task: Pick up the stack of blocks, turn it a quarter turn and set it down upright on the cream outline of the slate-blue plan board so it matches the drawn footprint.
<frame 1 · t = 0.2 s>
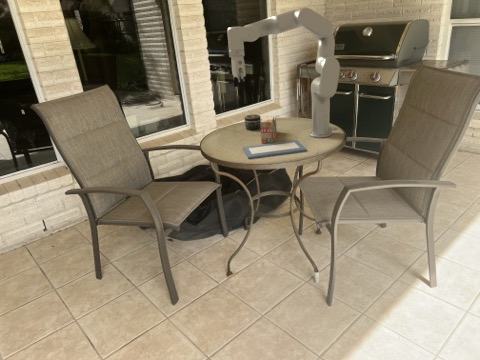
hand: (239, 88, 191), 31 cm above the table, tool pointing down, fingers open, 9 cm apart
jar: (253, 128, 231), on the table
plan board: (273, 149, 191), on the table
stack of blocks: (269, 137, 212), on the table
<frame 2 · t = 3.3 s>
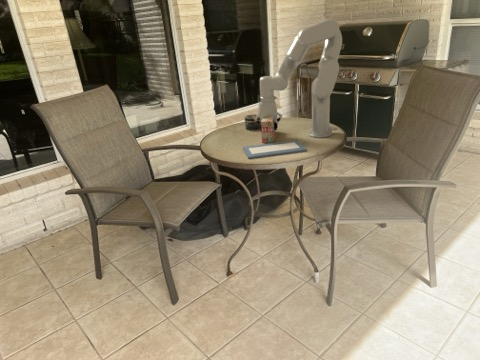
hand: (268, 130, 210), 4 cm above the table, tool pointing down, fingers closed on stack of blocks, 7 cm apart
stack of blocks: (269, 137, 212), on the table, touching gripper
everything else where it was.
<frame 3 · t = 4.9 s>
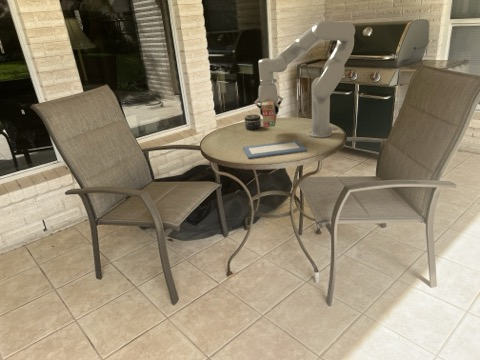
hand: (269, 114, 206), 13 cm above the table, tool pointing down, fingers closed on stack of blocks, 7 cm apart
stack of blocks: (270, 121, 208), point 9 cm above the table, touching gripper
everything else where it was.
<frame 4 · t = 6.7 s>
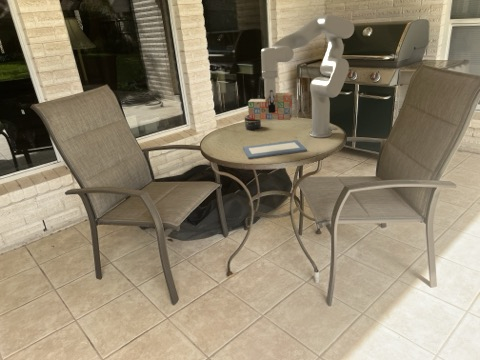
hand: (271, 110, 186), 20 cm above the table, tool pointing down, fingers closed on stack of blocks, 7 cm apart
stack of blocks: (270, 118, 188), point 16 cm above the table, touching gripper
everything else where it was.
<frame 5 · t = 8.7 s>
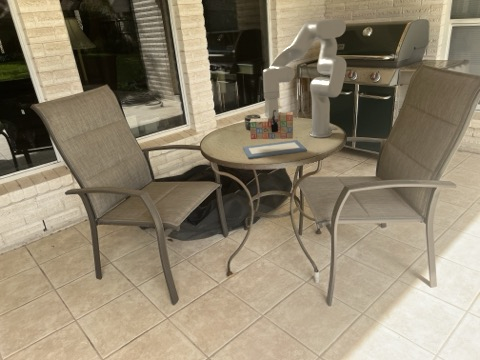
hand: (272, 129, 187), 11 cm above the table, tool pointing down, fingers closed on stack of blocks, 7 cm apart
stack of blocks: (272, 137, 189), point 7 cm above the table, touching gripper
everything else where it was.
when the fingers open (6 cm above the table, at t = 10.2 s): stack of blocks drops 1 cm, resting on plan board.
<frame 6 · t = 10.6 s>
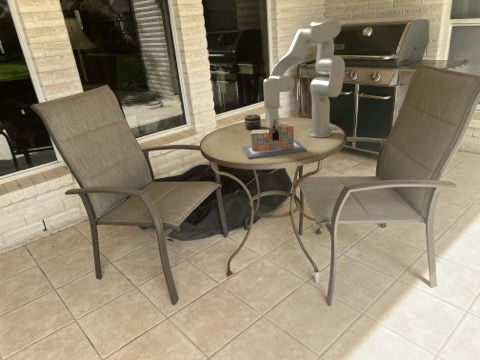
hand: (273, 137, 189), 7 cm above the table, tool pointing down, fingers open, 9 cm apart
stack of blocks: (273, 148, 191), point 1 cm above the table, touching plan board
everything else where it was.
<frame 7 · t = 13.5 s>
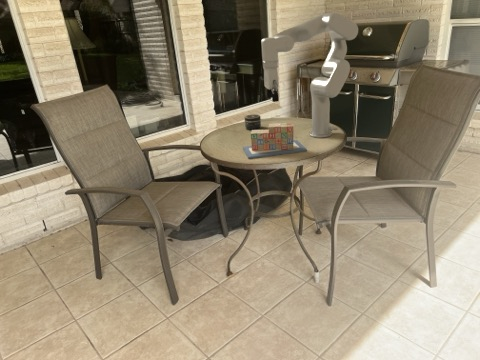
hand: (272, 99, 187), 25 cm above the table, tool pointing down, fingers open, 9 cm apart
nothing on the table moved.
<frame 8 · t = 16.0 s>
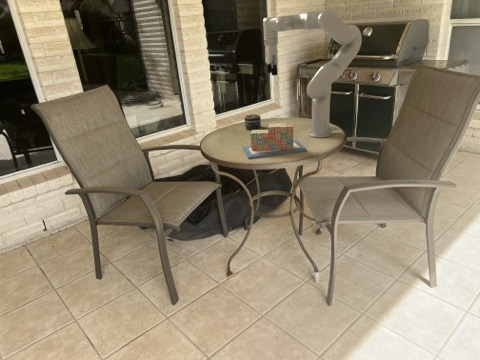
hand: (272, 74, 209), 33 cm above the table, tool pointing down, fingers open, 9 cm apart
nothing on the table moved.
at the end: stack of blocks 0.8 cm off-centre on the plan board, point 0.8 cm above the plan board's base; stack of blocks tilted 0°; the gripper is holding nothing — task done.
